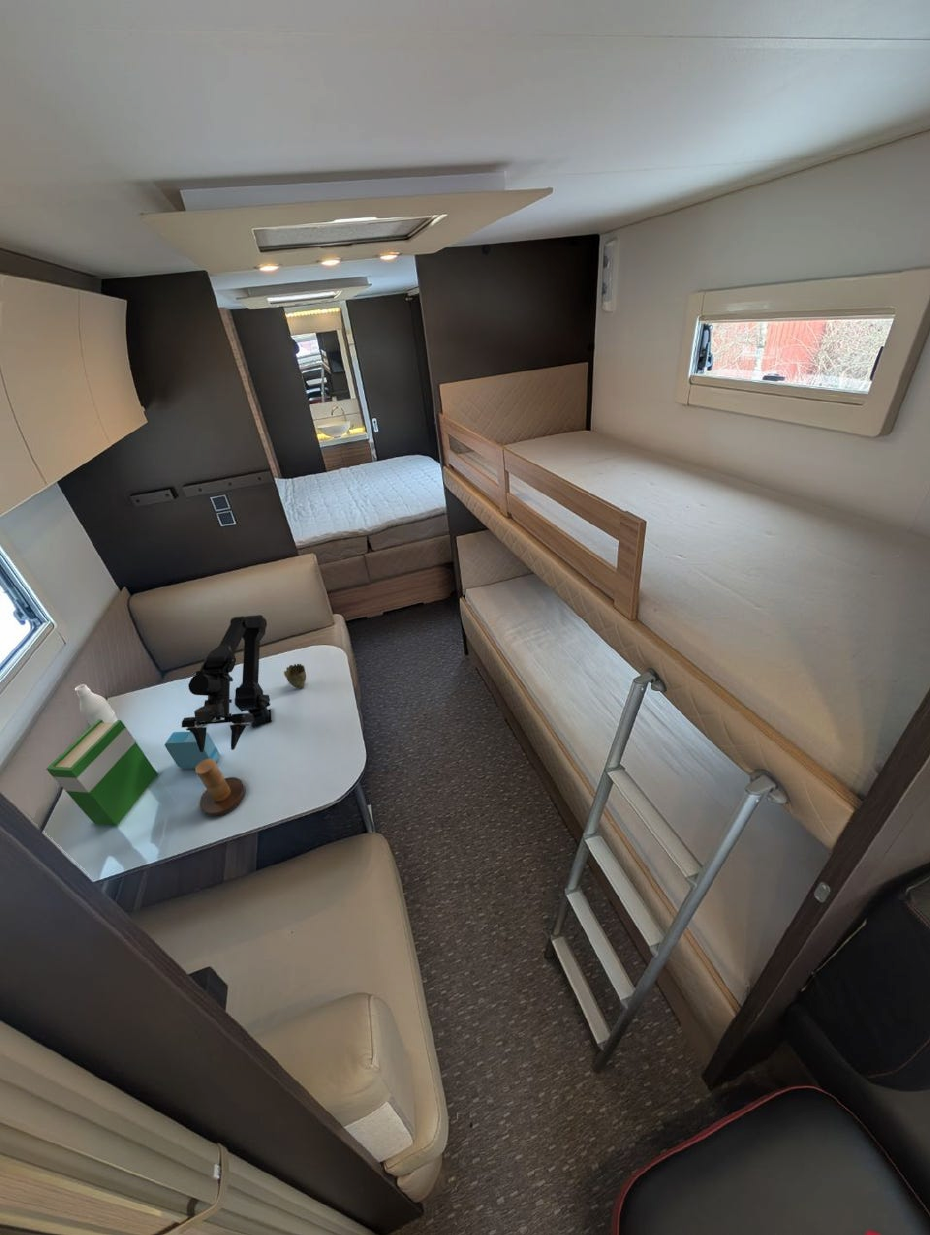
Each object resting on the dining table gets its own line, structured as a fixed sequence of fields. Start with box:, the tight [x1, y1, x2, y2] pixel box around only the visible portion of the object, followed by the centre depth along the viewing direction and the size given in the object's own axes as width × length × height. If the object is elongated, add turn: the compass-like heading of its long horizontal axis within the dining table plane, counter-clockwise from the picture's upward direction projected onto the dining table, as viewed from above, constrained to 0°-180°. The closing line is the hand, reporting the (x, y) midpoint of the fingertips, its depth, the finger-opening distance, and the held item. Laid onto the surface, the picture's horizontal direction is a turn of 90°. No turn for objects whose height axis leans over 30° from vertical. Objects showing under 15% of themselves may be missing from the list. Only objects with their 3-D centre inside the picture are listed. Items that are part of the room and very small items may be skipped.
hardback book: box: [46, 719, 159, 827], centre depth 136 cm, size 18×7×24 cm, turn 172°
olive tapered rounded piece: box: [283, 663, 307, 689], centre depth 177 cm, size 8×7×8 cm
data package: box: [164, 731, 221, 770], centre depth 148 cm, size 12×4×12 cm, turn 87°
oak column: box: [194, 759, 231, 802], centre depth 135 cm, size 5×5×12 cm
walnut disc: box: [199, 776, 247, 818], centre depth 139 cm, size 12×12×2 cm
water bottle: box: [74, 683, 118, 727], centre depth 156 cm, size 7×7×25 cm
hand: (217, 750), depth 138 cm, fingers open, 9 cm apart
